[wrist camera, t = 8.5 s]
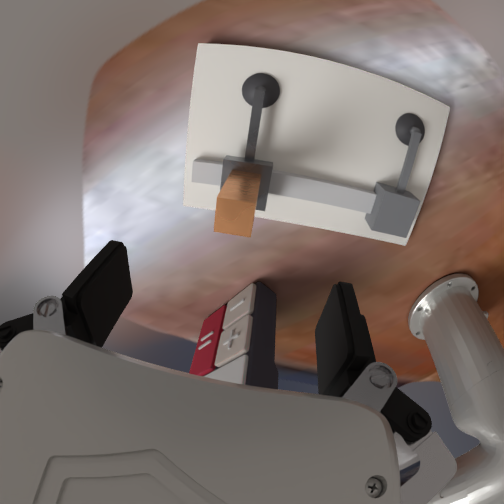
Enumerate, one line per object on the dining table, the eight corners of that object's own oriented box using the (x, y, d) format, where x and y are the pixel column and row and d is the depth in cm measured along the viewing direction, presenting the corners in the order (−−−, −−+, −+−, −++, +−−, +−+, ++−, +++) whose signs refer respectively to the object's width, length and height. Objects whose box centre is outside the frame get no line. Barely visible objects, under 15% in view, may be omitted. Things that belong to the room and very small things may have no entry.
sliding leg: (285, 89, 20) (290, 86, 13) (265, 202, 25) (261, 250, 18) (237, 83, 20) (216, 77, 13) (223, 195, 25) (201, 240, 18)
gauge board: (442, 105, 20) (464, 110, 16) (400, 238, 28) (413, 258, 25) (202, 46, 19) (189, 38, 16) (187, 200, 28) (175, 216, 25)
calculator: (255, 275, 33) (240, 388, 20) (280, 295, 34) (278, 405, 21) (201, 318, 38) (173, 414, 25) (224, 334, 39) (206, 428, 26)
